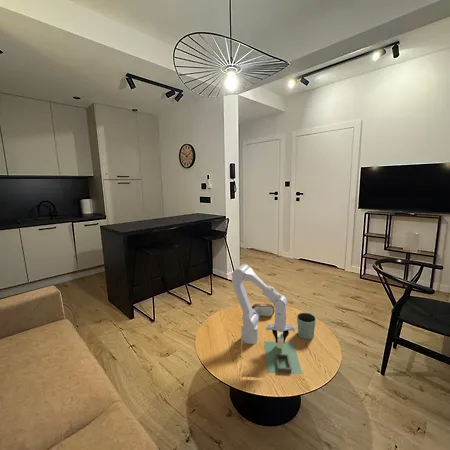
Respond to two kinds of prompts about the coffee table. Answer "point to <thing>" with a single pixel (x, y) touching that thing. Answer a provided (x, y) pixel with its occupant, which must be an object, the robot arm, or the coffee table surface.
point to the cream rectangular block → (280, 340)
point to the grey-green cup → (306, 325)
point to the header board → (282, 358)
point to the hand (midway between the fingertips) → (279, 342)
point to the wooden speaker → (264, 309)
